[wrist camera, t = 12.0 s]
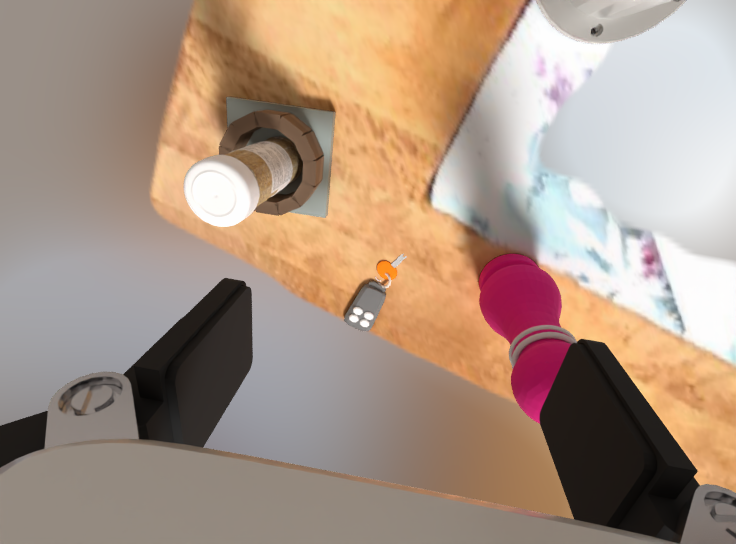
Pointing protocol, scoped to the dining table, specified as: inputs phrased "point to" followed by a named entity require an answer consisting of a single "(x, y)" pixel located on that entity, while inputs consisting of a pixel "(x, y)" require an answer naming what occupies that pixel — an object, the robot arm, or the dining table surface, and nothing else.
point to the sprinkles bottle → (240, 180)
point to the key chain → (371, 298)
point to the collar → (309, 137)
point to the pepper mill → (526, 325)
